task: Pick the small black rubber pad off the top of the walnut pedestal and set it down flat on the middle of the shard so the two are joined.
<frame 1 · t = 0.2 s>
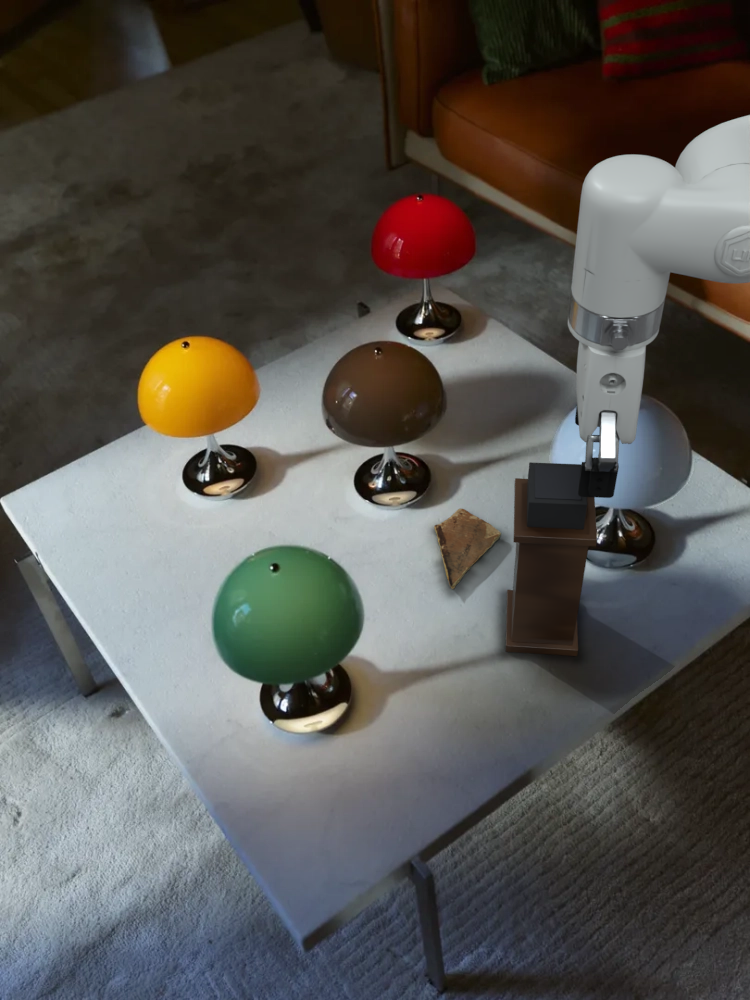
hand: (593, 458, 91), 26 cm above the table, tool pointing down, fingers open, 9 cm apart
shard: (471, 553, 118), on the table
pedestal: (541, 625, 109), on the table
black pad: (554, 507, 95), point 20 cm above the table, touching pedestal
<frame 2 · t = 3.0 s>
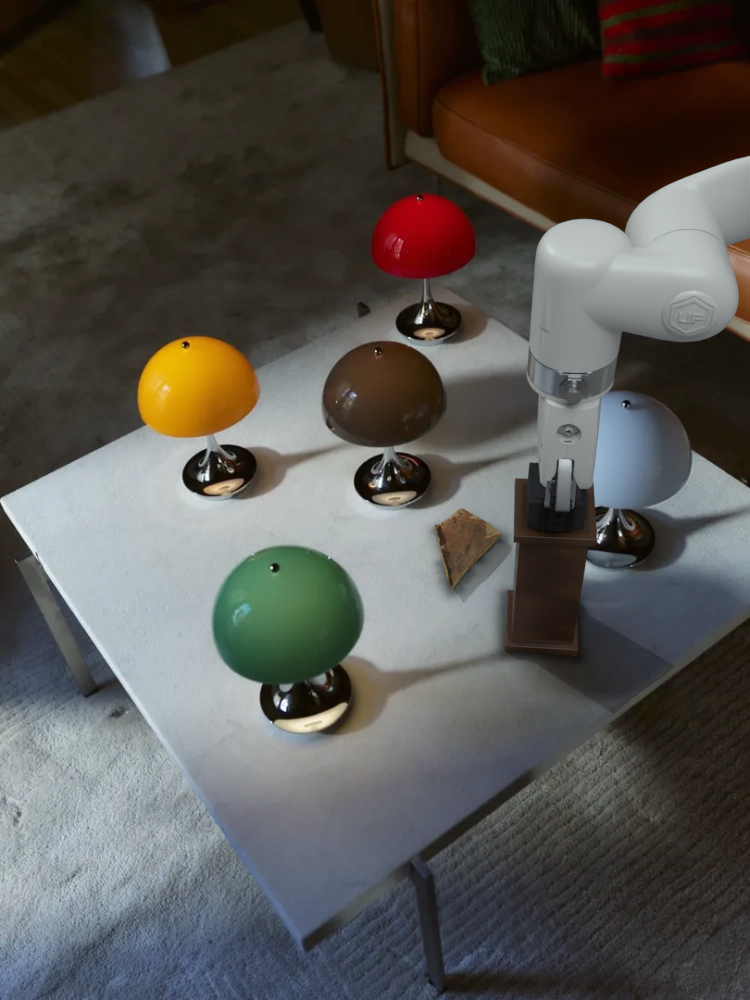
hand: (555, 504, 94), 20 cm above the table, tool pointing down, fingers closed on black pad, 5 cm apart
black pad: (554, 507, 95), point 20 cm above the table, touching gripper, pedestal
everything else where it was.
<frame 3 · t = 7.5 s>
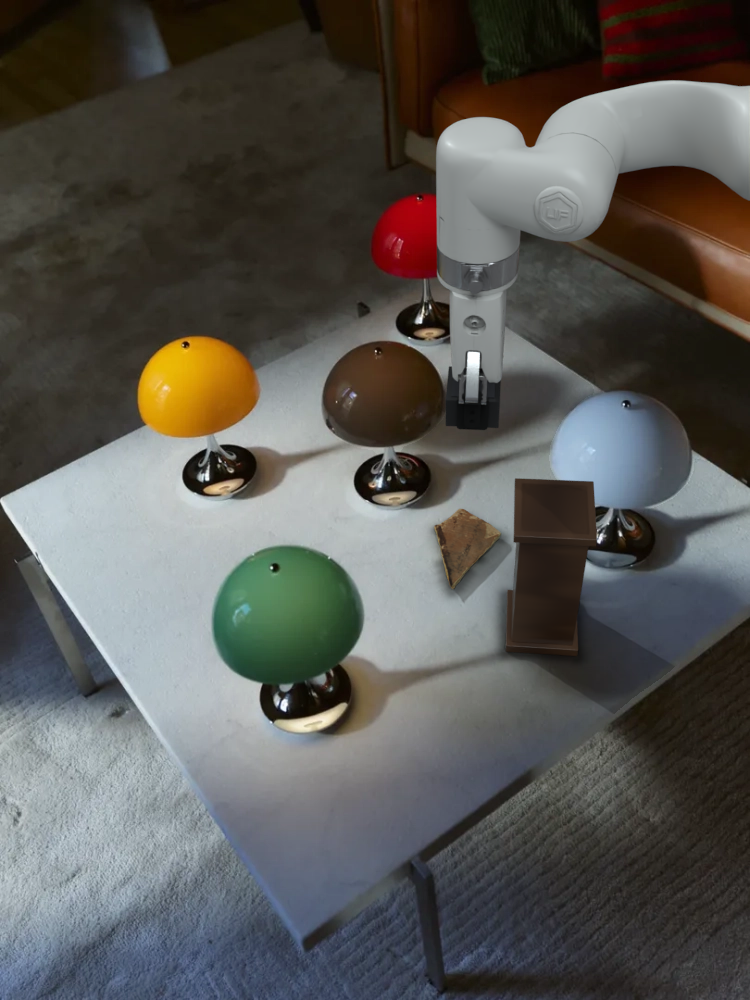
hand: (473, 406, 100), 24 cm above the table, tool pointing down, fingers closed on black pad, 5 cm apart
black pad: (473, 409, 100), point 23 cm above the table, touching gripper
everything else where it was.
when the fingers open (2 cm above the table, at t = 11.9 s): black pad stays where it is, resting on shard.
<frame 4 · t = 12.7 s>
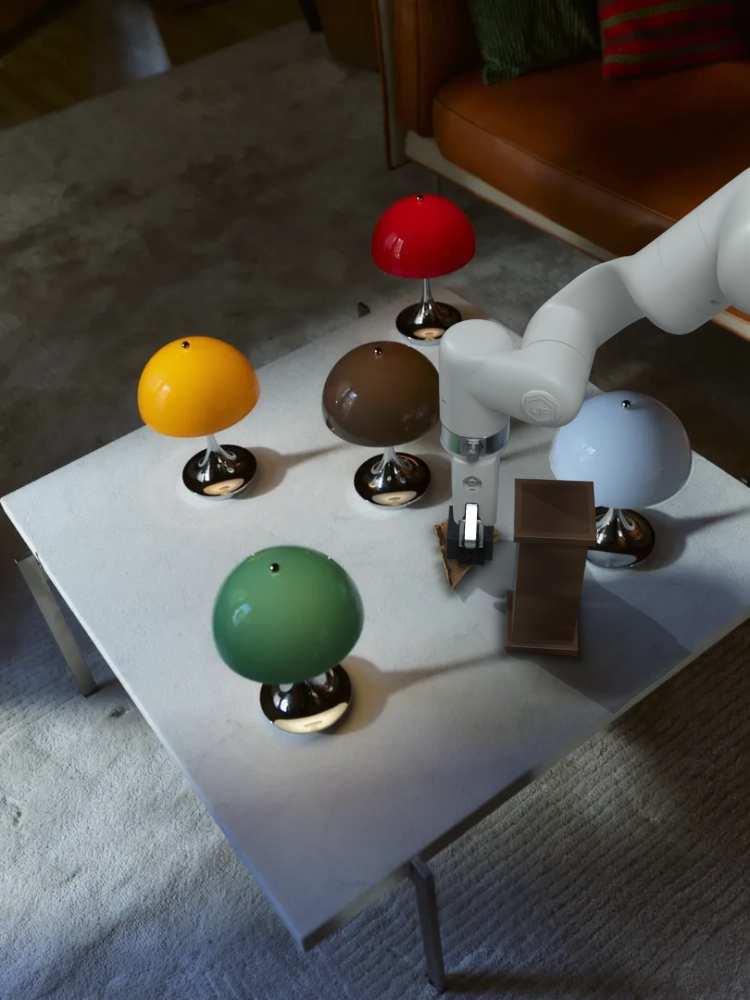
hand: (472, 531, 115), 4 cm above the table, tool pointing down, fingers open, 9 cm apart
shard: (471, 553, 118), on the table, touching black pad
black pad: (470, 542, 116), point 2 cm above the table, touching shard
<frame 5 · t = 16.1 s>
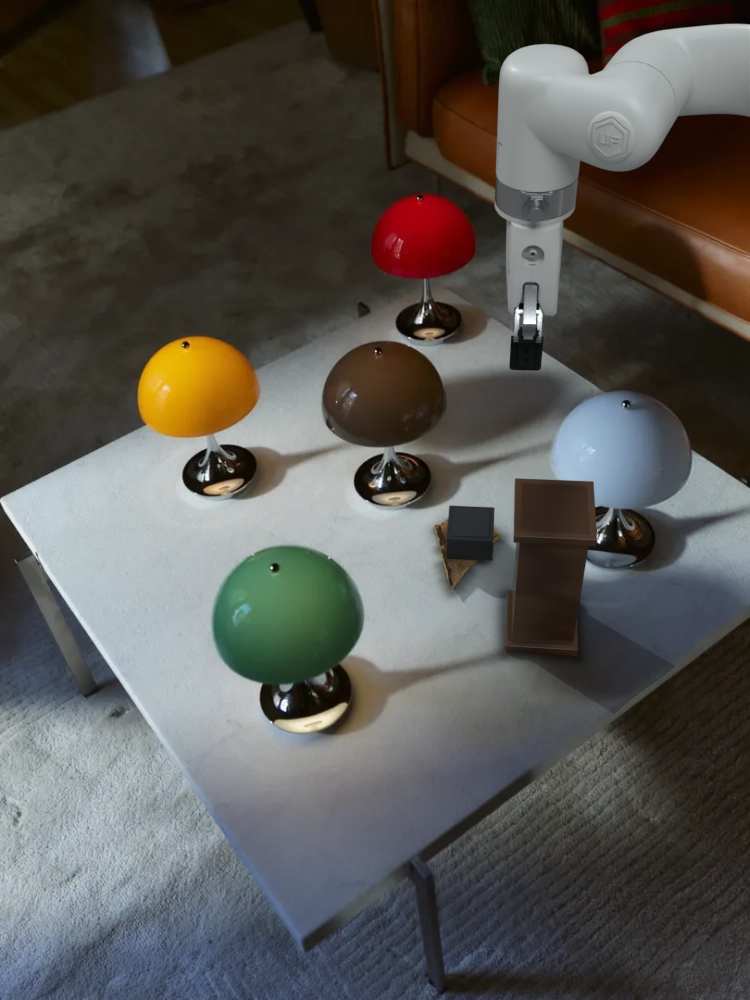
hand: (525, 339, 100), 28 cm above the table, tool pointing down, fingers open, 9 cm apart
nothing on the table moved.
at the end: black pad 0.1 cm off-centre on the shard, point 2.0 cm above the shard's base; black pad touching shard; the gripper is holding nothing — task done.
